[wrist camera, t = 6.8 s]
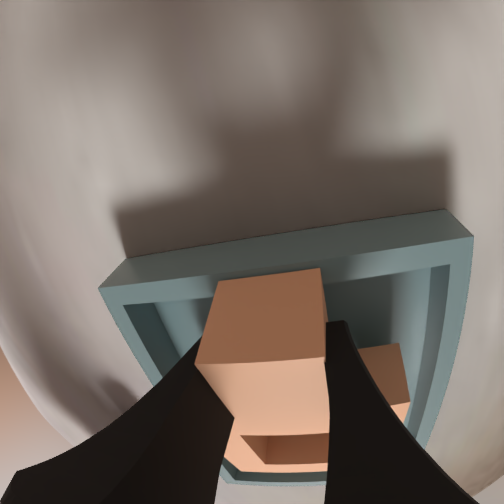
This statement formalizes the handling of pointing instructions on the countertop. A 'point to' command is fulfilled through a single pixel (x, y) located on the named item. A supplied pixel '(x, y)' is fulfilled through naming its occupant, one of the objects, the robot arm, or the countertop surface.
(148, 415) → the robot arm
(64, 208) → the countertop surface
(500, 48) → the countertop surface
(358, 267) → the tray
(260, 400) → the collar
